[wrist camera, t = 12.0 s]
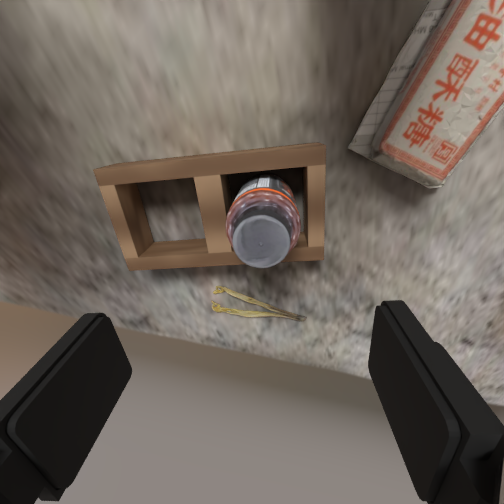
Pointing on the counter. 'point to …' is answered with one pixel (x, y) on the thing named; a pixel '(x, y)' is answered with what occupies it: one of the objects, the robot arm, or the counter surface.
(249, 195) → the supplement bottle
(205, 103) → the counter surface
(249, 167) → the rack
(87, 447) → the robot arm
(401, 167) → the packaged product
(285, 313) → the tongs
